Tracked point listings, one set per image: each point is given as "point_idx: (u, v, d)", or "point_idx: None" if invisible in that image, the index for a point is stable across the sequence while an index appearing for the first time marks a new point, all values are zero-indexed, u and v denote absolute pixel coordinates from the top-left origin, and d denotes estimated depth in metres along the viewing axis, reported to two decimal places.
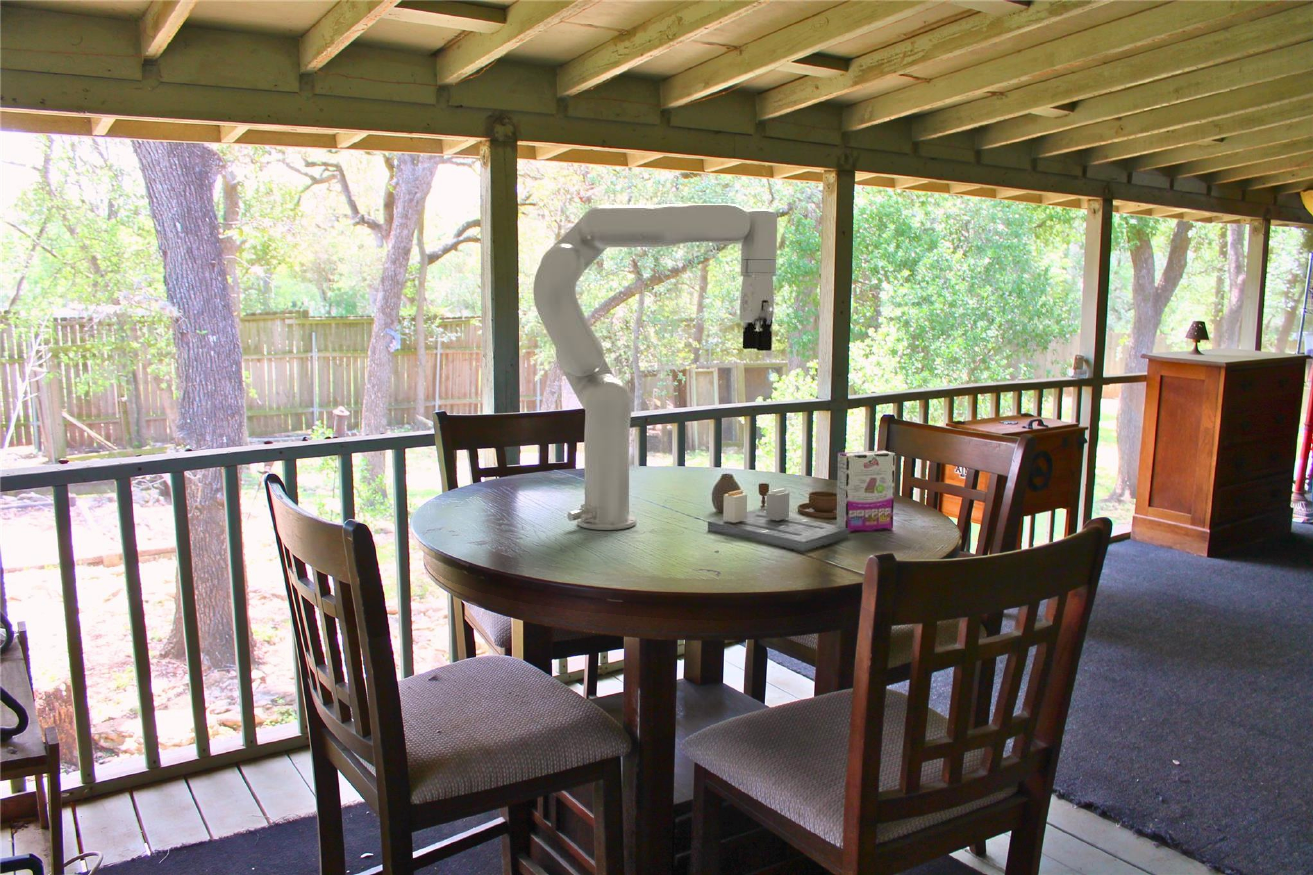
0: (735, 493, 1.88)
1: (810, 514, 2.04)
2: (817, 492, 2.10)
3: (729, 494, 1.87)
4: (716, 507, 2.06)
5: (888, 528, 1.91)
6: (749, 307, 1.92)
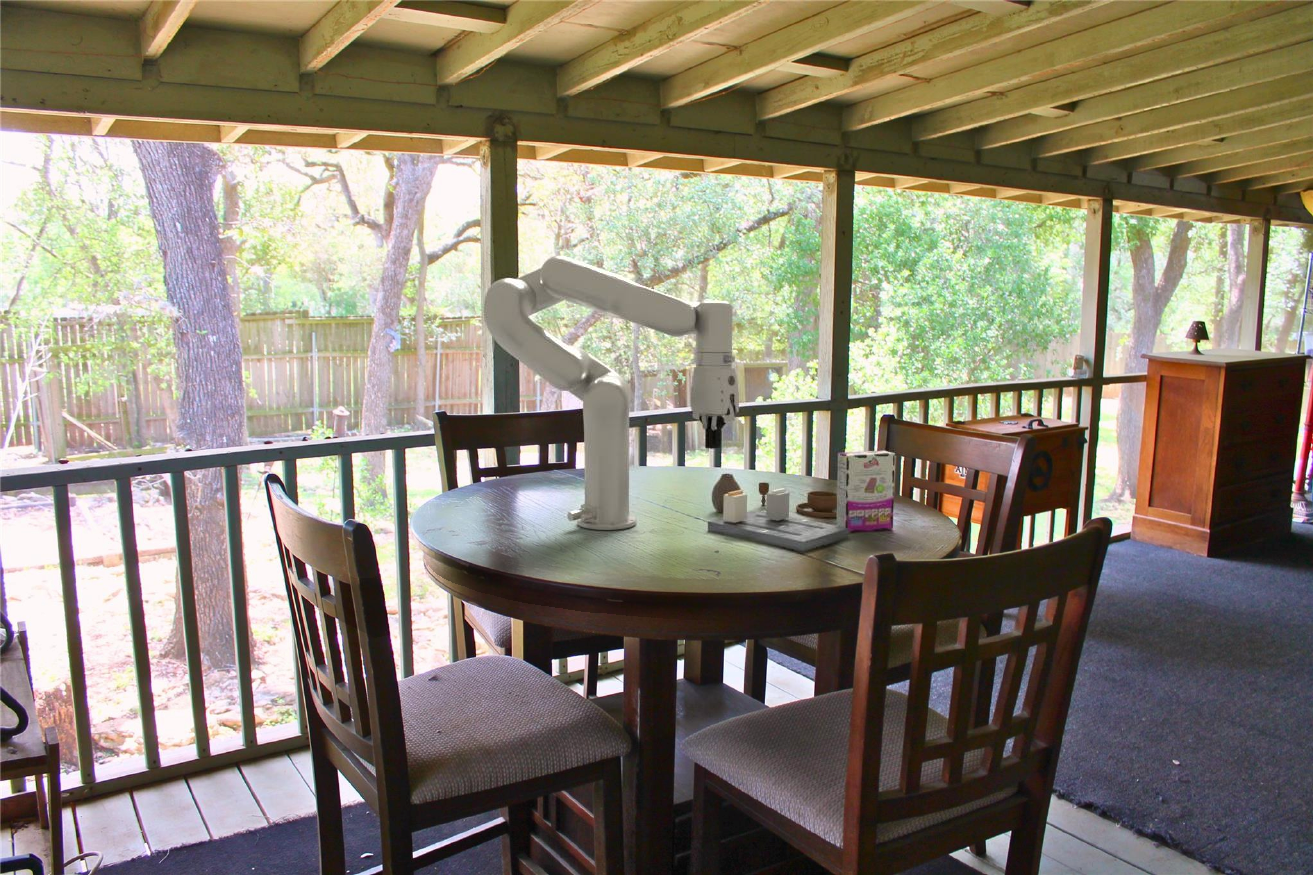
0: (735, 493, 1.88)
1: (807, 513, 2.04)
2: (817, 492, 2.11)
3: (729, 494, 1.87)
4: (716, 507, 2.06)
5: (888, 528, 1.91)
6: None
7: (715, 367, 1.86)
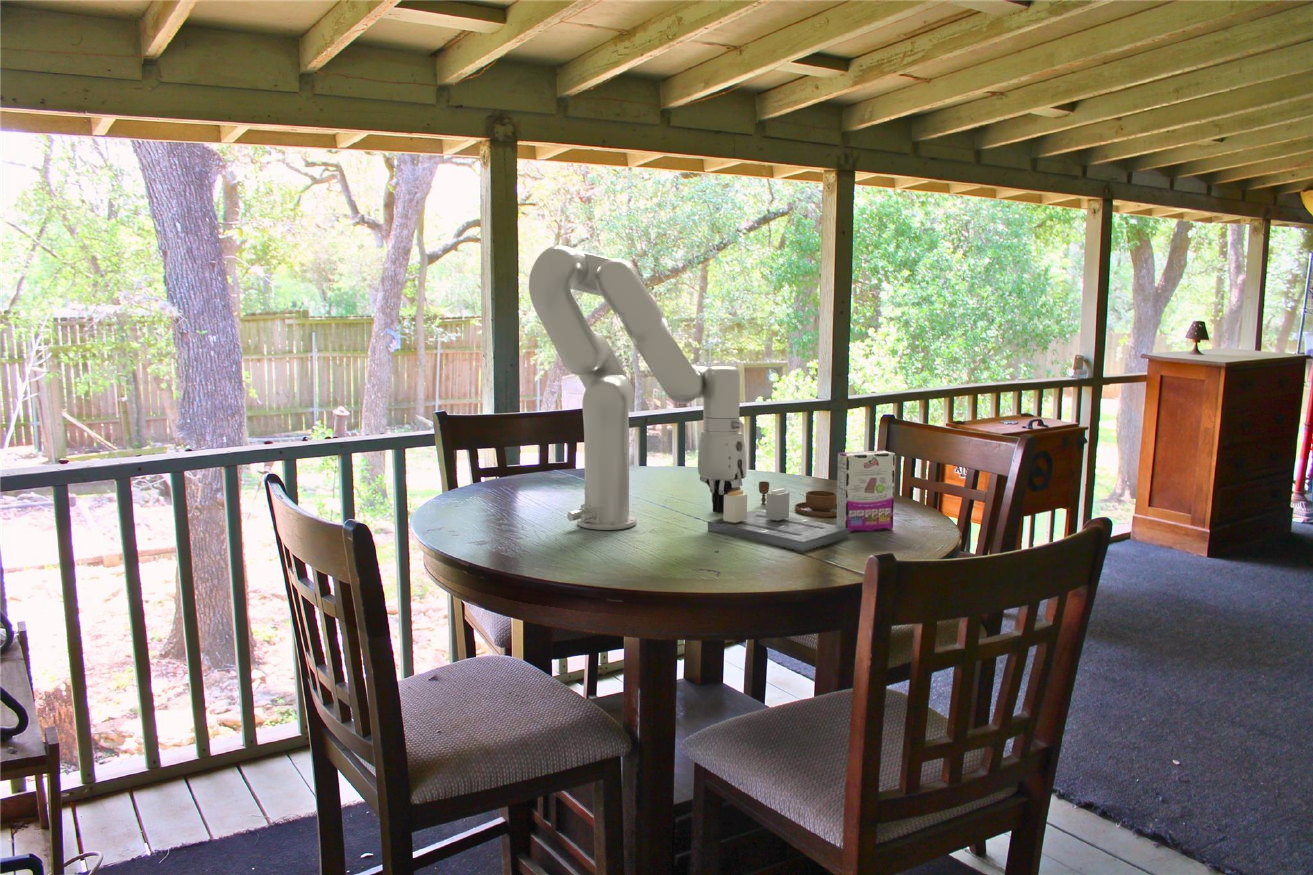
0: (735, 493, 1.88)
1: (804, 513, 2.05)
2: (816, 491, 2.12)
3: (729, 494, 1.87)
4: None
5: (888, 528, 1.91)
6: None
7: (723, 433, 1.86)
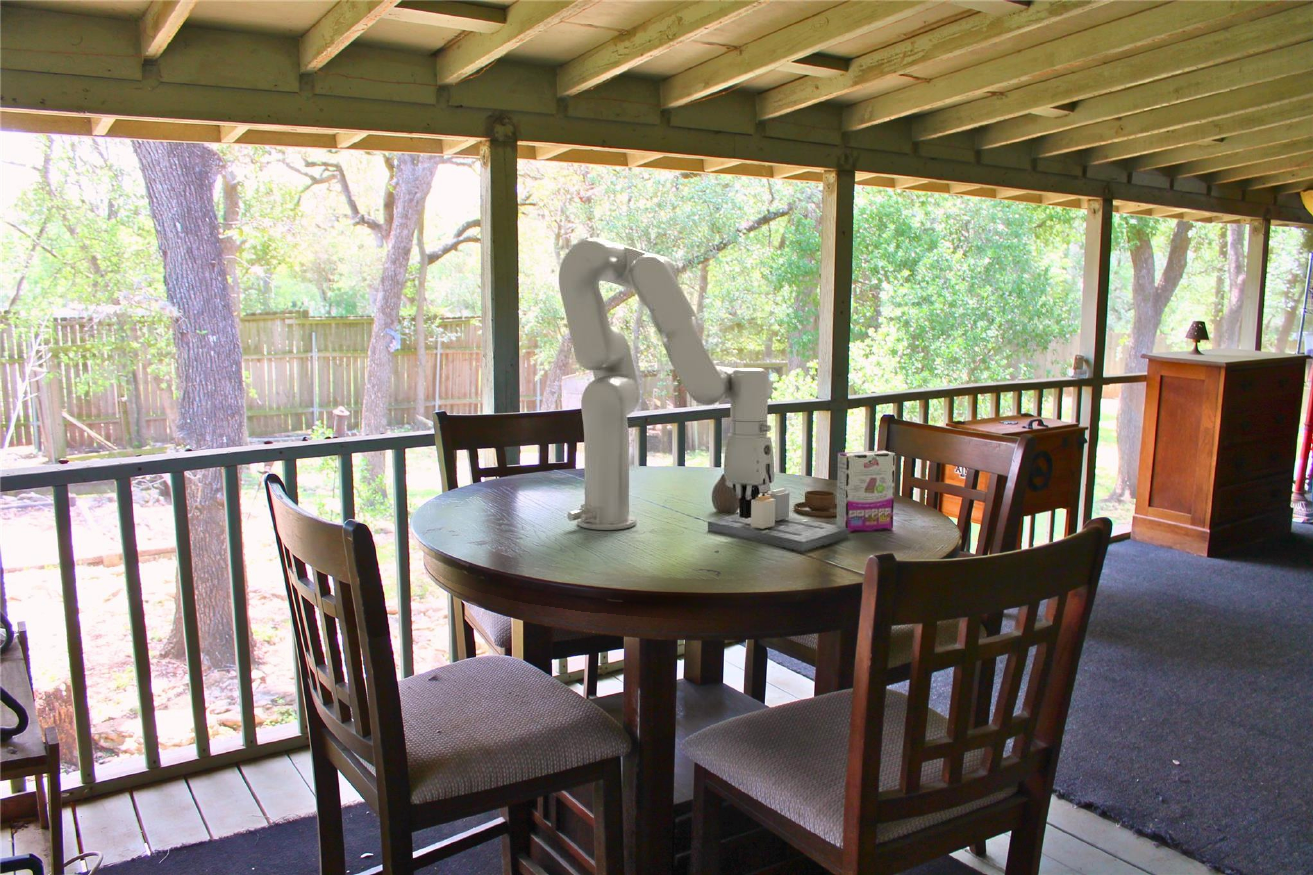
0: (763, 498, 1.83)
1: (803, 512, 2.05)
2: (815, 491, 2.12)
3: (757, 499, 1.82)
4: (716, 507, 2.06)
5: (888, 528, 1.91)
6: None
7: (750, 436, 1.81)
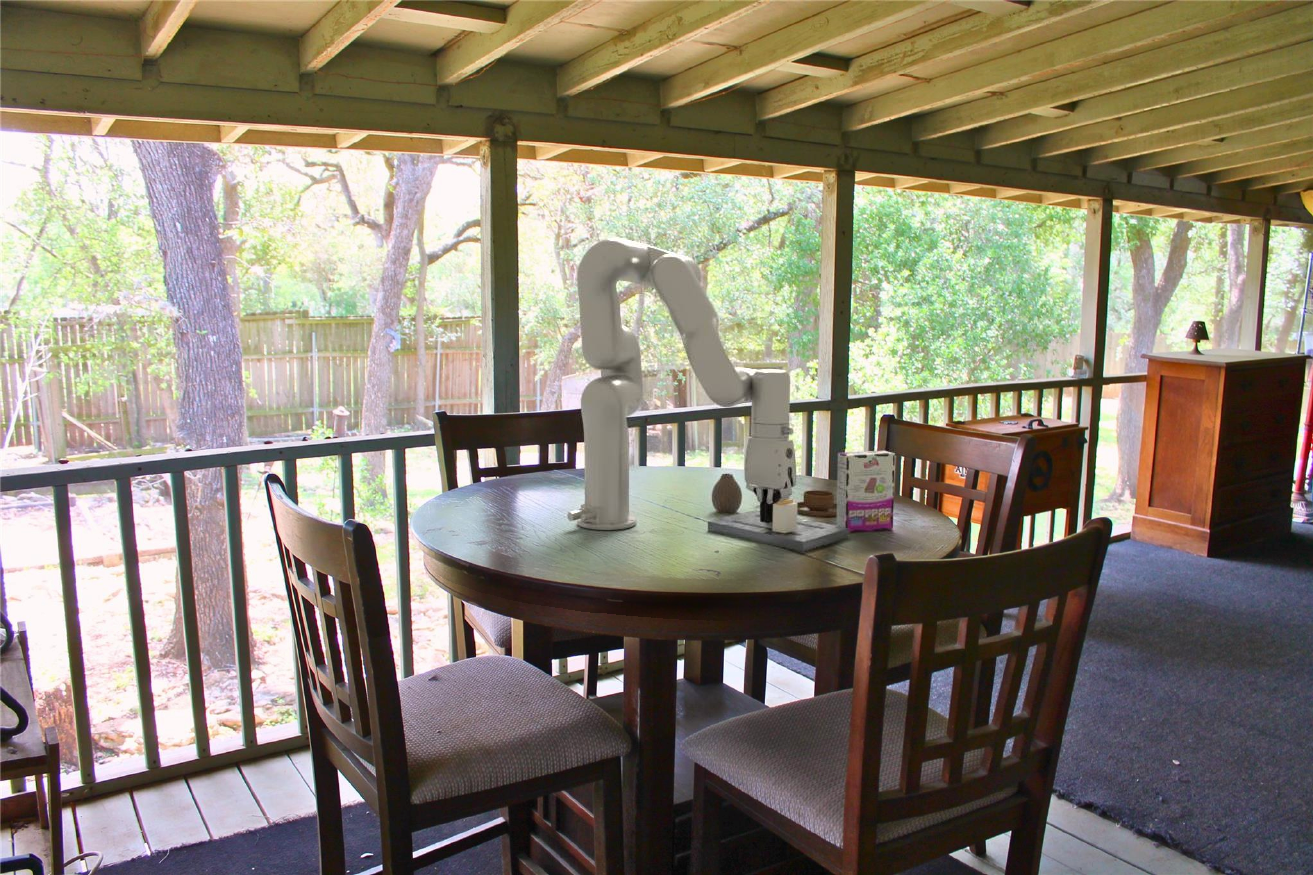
0: (785, 502, 1.79)
1: (801, 512, 2.06)
2: (815, 491, 2.12)
3: (779, 503, 1.78)
4: (716, 507, 2.06)
5: (888, 528, 1.91)
6: None
7: (772, 439, 1.78)
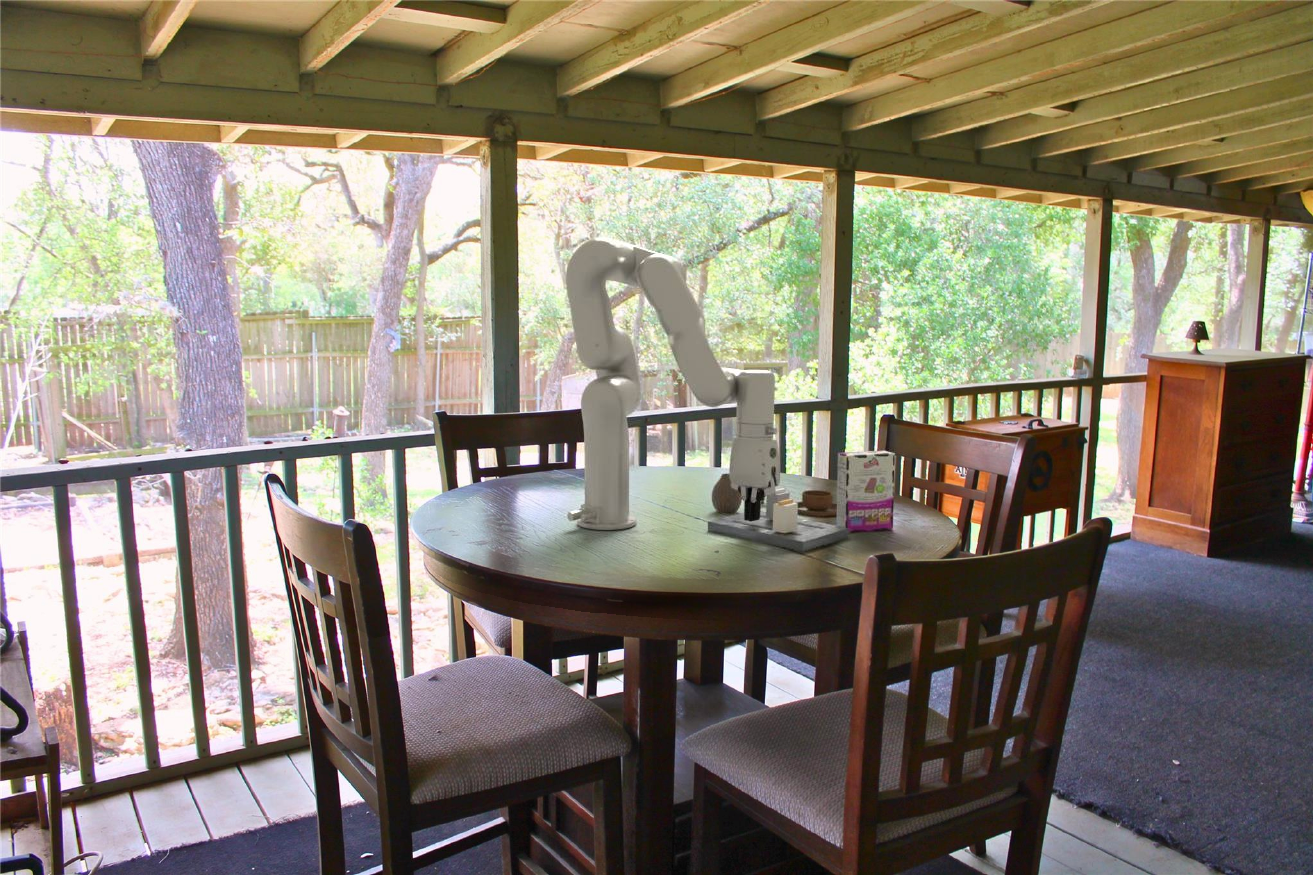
0: (785, 502, 1.79)
1: (799, 512, 2.06)
2: (813, 491, 2.12)
3: (779, 503, 1.78)
4: (716, 507, 2.06)
5: (888, 528, 1.91)
6: None
7: (756, 439, 1.80)
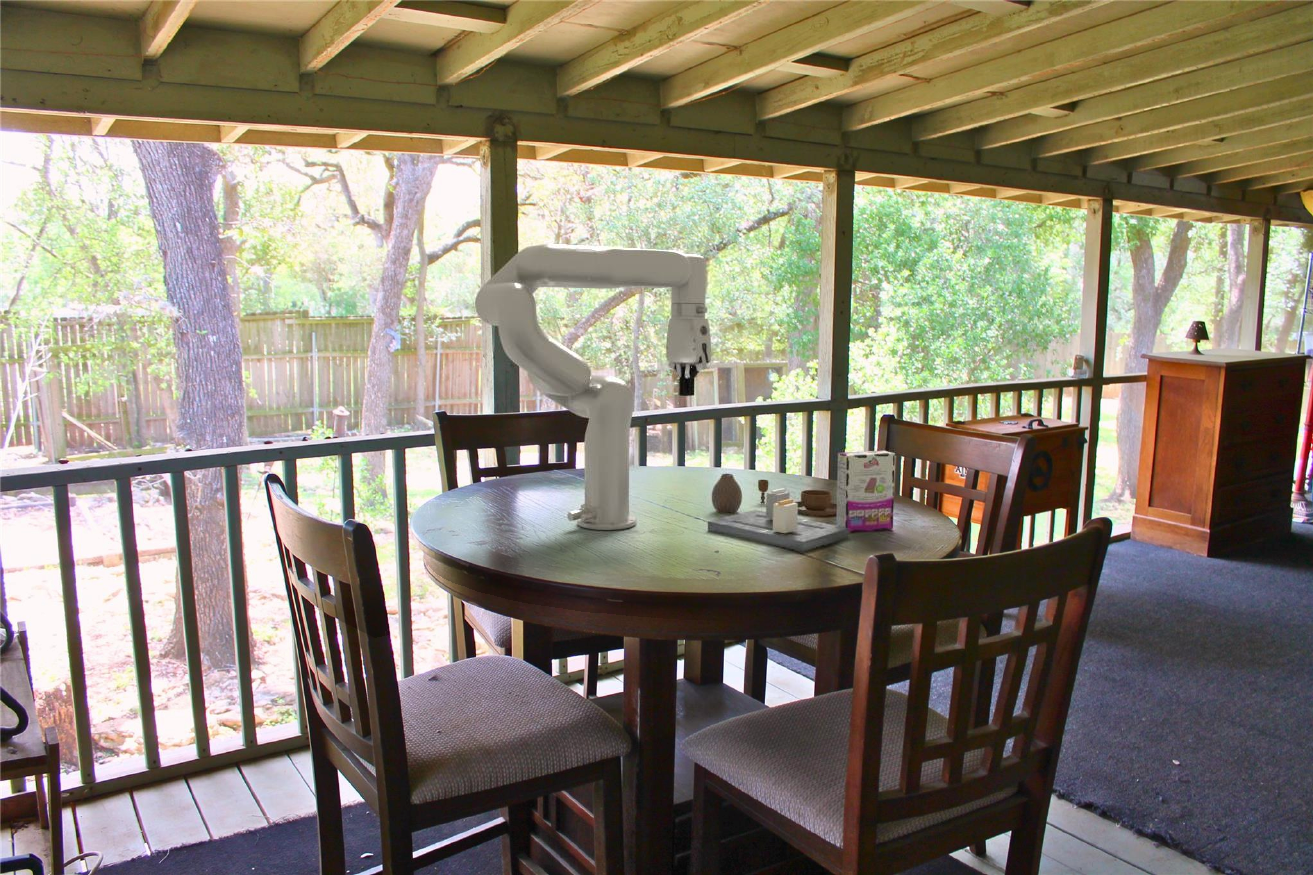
0: (785, 502, 1.79)
1: None
2: (813, 490, 2.13)
3: (779, 503, 1.78)
4: (716, 507, 2.06)
5: (888, 528, 1.91)
6: None
7: (688, 317, 1.96)
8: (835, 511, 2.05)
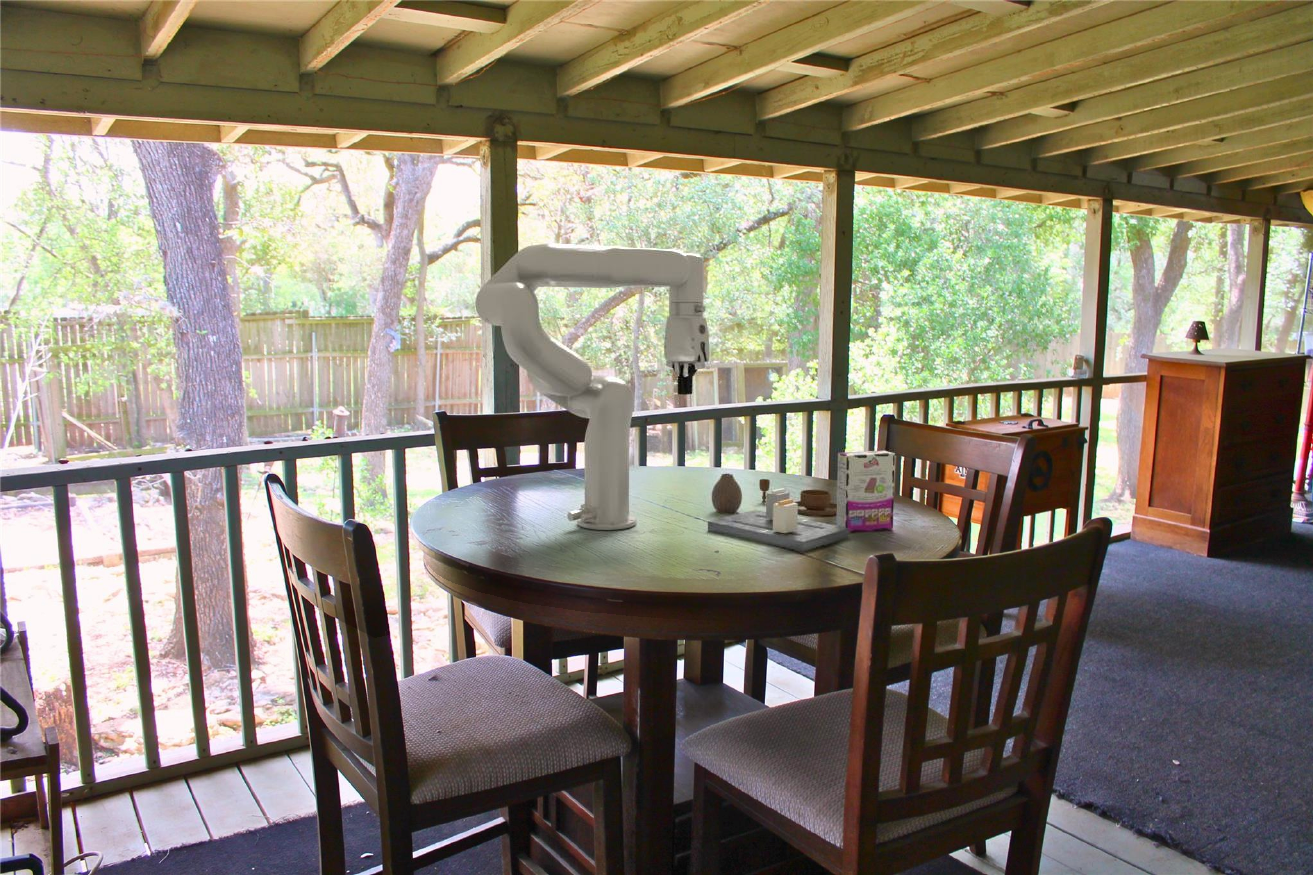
0: (785, 502, 1.79)
1: None
2: (813, 490, 2.13)
3: (779, 503, 1.78)
4: (716, 507, 2.06)
5: (888, 528, 1.91)
6: None
7: (686, 316, 1.97)
8: (833, 511, 2.05)
